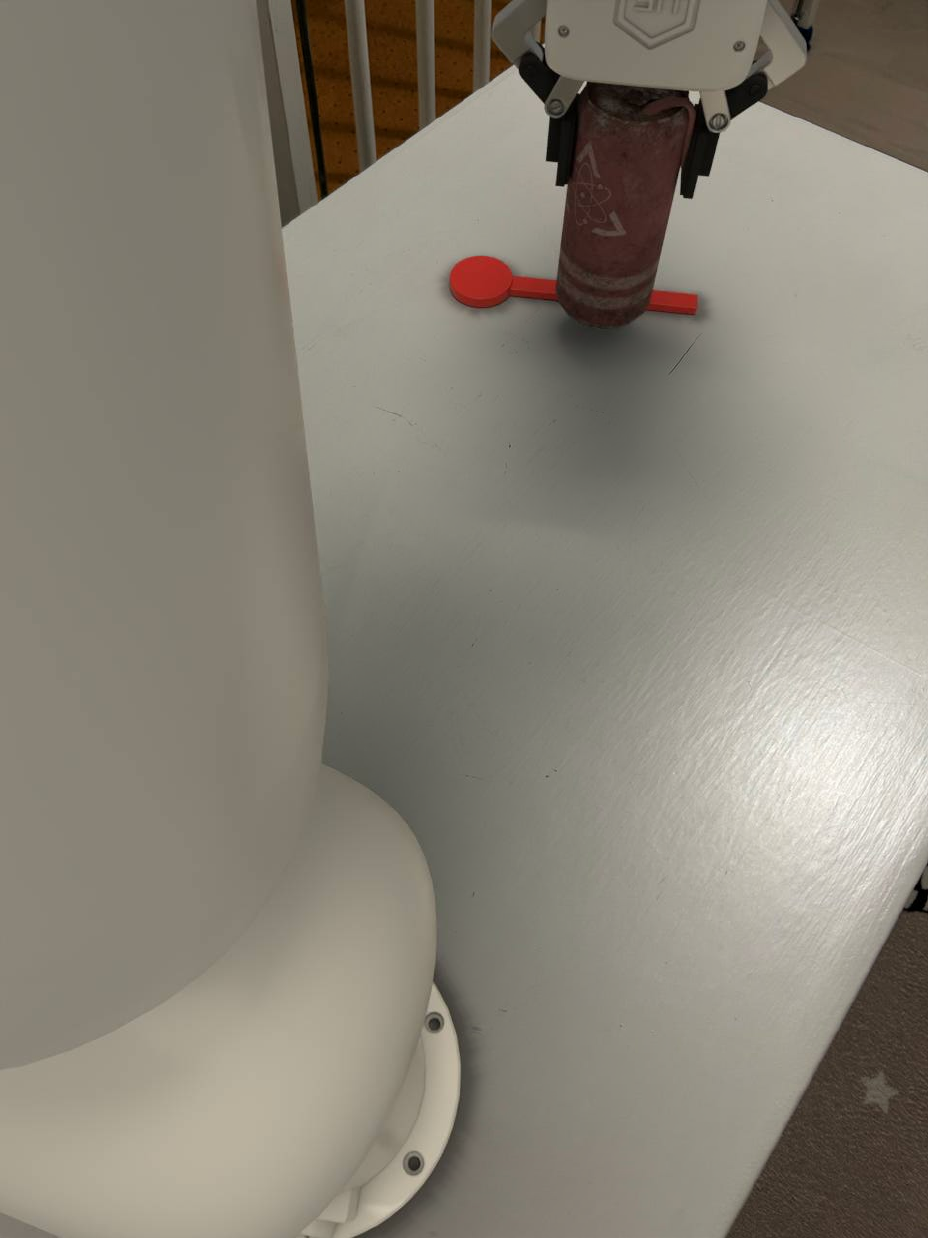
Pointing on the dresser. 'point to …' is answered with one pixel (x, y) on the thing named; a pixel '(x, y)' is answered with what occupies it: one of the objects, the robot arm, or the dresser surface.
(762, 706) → the dresser surface
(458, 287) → the spoon
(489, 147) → the dresser surface
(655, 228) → the can
